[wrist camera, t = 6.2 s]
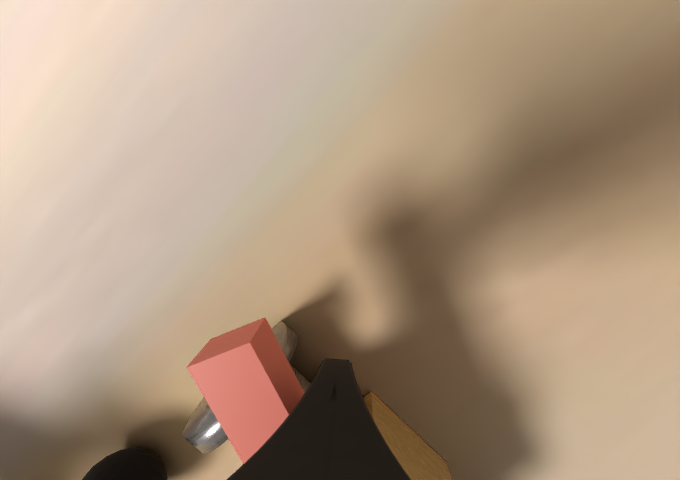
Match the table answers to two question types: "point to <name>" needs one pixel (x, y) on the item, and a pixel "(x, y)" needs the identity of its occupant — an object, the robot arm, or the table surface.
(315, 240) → the table surface
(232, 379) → the lever
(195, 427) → the valve pipe
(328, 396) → the robot arm
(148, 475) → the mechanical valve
